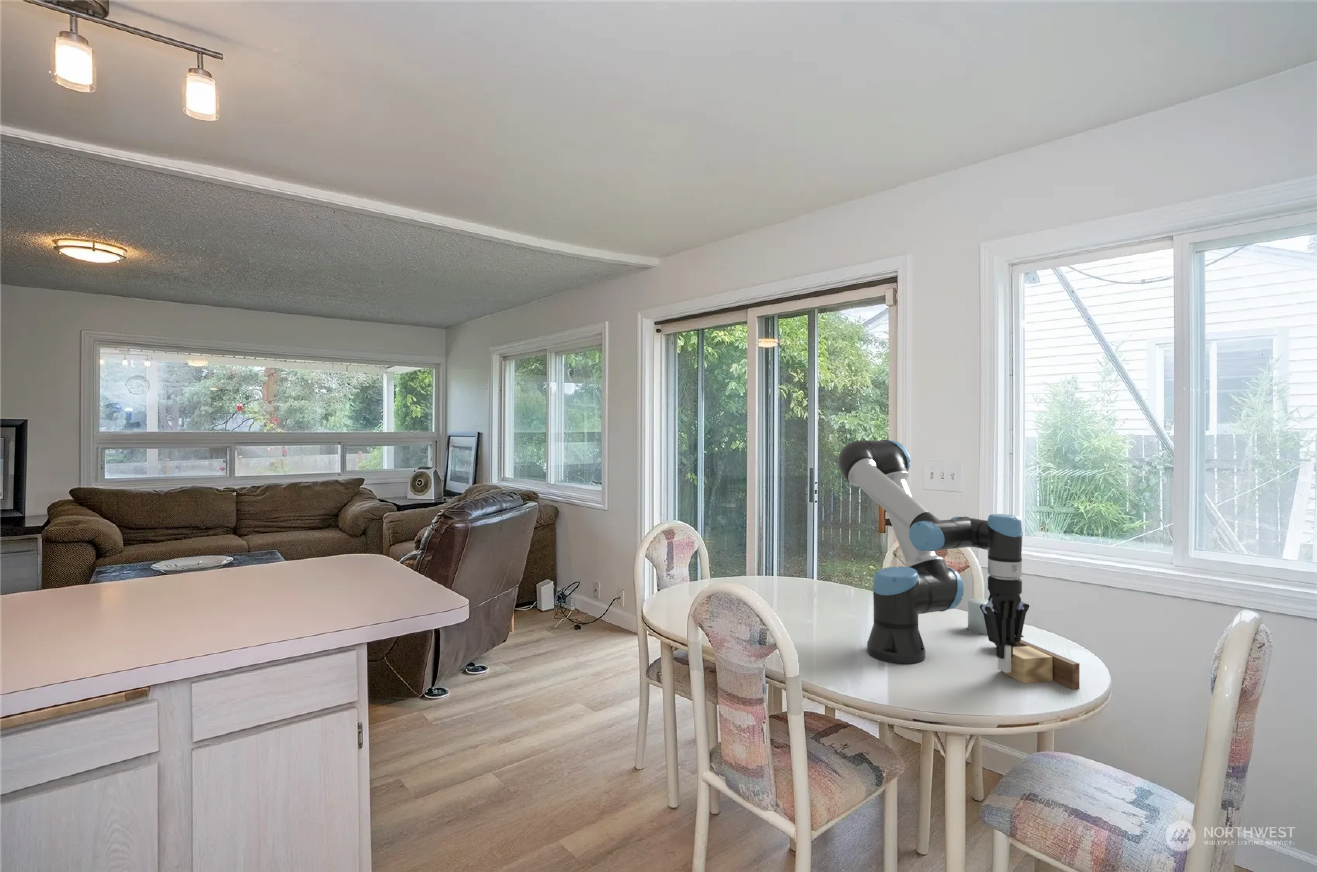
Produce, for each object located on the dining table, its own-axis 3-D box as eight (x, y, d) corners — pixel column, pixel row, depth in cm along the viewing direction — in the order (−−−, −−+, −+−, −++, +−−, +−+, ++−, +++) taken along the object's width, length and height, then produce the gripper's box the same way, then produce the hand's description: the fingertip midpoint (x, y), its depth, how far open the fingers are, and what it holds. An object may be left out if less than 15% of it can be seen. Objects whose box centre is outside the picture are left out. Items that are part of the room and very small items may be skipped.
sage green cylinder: (980, 635, 191) (980, 606, 190) (962, 627, 198) (962, 599, 198) (1002, 633, 192) (1002, 604, 192) (983, 626, 200) (983, 597, 200)
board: (1072, 689, 151) (1072, 664, 151) (1008, 659, 170) (1008, 637, 170) (1079, 688, 151) (1079, 663, 151) (1015, 659, 171) (1014, 637, 171)
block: (1023, 683, 155) (1023, 658, 155) (1000, 671, 163) (1000, 647, 163) (1052, 681, 156) (1052, 656, 156) (1028, 669, 164) (1028, 646, 164)
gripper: (993, 581, 153) (993, 678, 153) (1038, 578, 156) (1038, 673, 156) (971, 574, 160) (971, 667, 160) (1014, 572, 163) (1014, 663, 163)
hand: (1004, 670), depth 158 cm, fingers closed
